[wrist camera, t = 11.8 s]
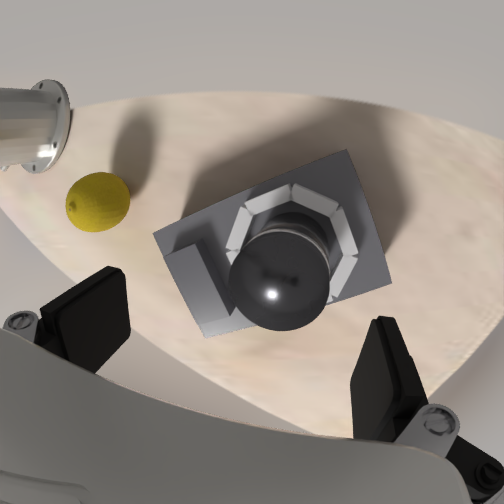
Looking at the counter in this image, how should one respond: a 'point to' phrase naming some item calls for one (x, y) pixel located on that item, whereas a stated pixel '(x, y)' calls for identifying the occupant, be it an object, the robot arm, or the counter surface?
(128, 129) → the counter surface
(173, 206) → the counter surface
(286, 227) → the lens
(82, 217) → the lemon
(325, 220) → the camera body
